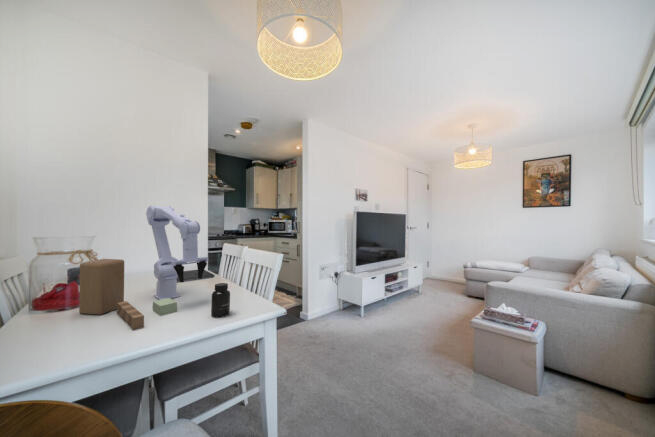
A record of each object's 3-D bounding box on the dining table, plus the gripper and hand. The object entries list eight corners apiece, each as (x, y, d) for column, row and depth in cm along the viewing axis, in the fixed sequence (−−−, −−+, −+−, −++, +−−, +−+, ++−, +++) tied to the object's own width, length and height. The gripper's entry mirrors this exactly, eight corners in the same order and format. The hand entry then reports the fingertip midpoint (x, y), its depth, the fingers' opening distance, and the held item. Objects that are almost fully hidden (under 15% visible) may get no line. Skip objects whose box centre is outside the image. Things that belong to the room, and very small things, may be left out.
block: (124, 306, 104) (125, 259, 104) (101, 315, 95) (101, 263, 94) (103, 305, 105) (104, 258, 105) (77, 314, 96) (78, 262, 95)
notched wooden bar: (116, 313, 97) (117, 302, 97) (126, 310, 100) (126, 301, 100) (133, 330, 84) (133, 318, 84) (143, 327, 86) (144, 315, 86)
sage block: (152, 311, 101) (152, 301, 101) (169, 307, 106) (169, 297, 105) (159, 316, 96) (160, 306, 96) (176, 311, 101) (177, 302, 101)
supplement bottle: (225, 318, 95) (225, 287, 95) (207, 317, 95) (208, 286, 95) (232, 311, 102) (233, 282, 102) (216, 310, 102) (216, 281, 102)
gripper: (175, 251, 100) (176, 284, 100) (211, 247, 112) (211, 277, 111) (169, 250, 105) (169, 282, 104) (203, 247, 116) (204, 276, 116)
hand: (191, 280), depth 108 cm, fingers open, 7 cm apart
